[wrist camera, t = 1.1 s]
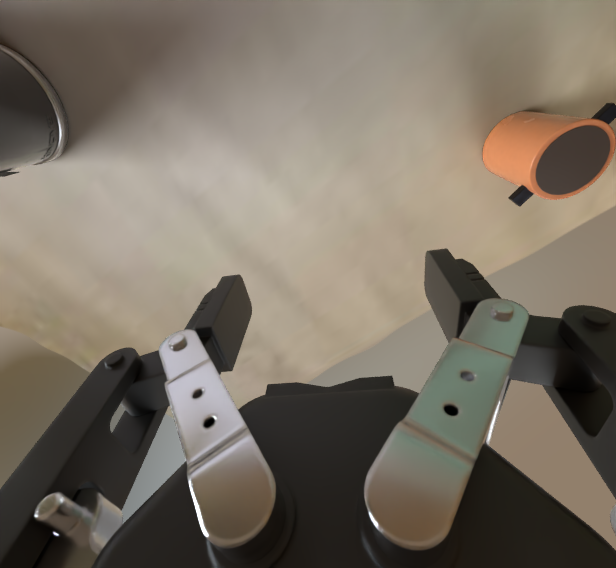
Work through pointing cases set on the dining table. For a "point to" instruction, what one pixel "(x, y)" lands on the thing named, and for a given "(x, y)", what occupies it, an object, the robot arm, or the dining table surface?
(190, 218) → the dining table surface
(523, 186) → the copper pot
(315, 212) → the dining table surface
